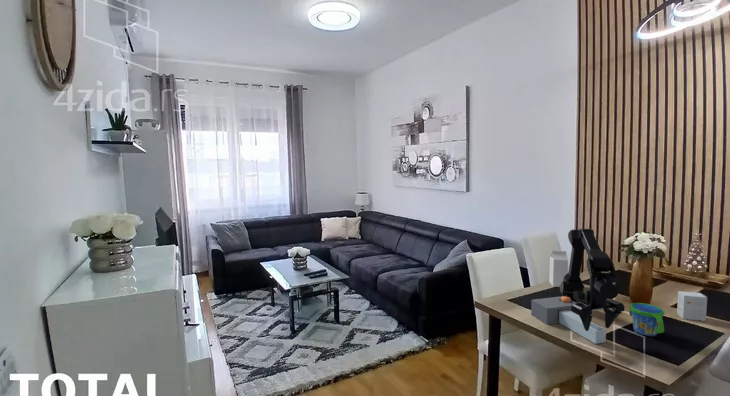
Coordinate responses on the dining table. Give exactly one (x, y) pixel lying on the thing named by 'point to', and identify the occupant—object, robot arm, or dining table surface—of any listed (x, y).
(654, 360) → the dining table surface
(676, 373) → the dining table surface
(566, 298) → the plunger
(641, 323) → the snack cup
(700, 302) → the small box
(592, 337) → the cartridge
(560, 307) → the block
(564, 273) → the milk carton
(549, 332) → the dining table surface
